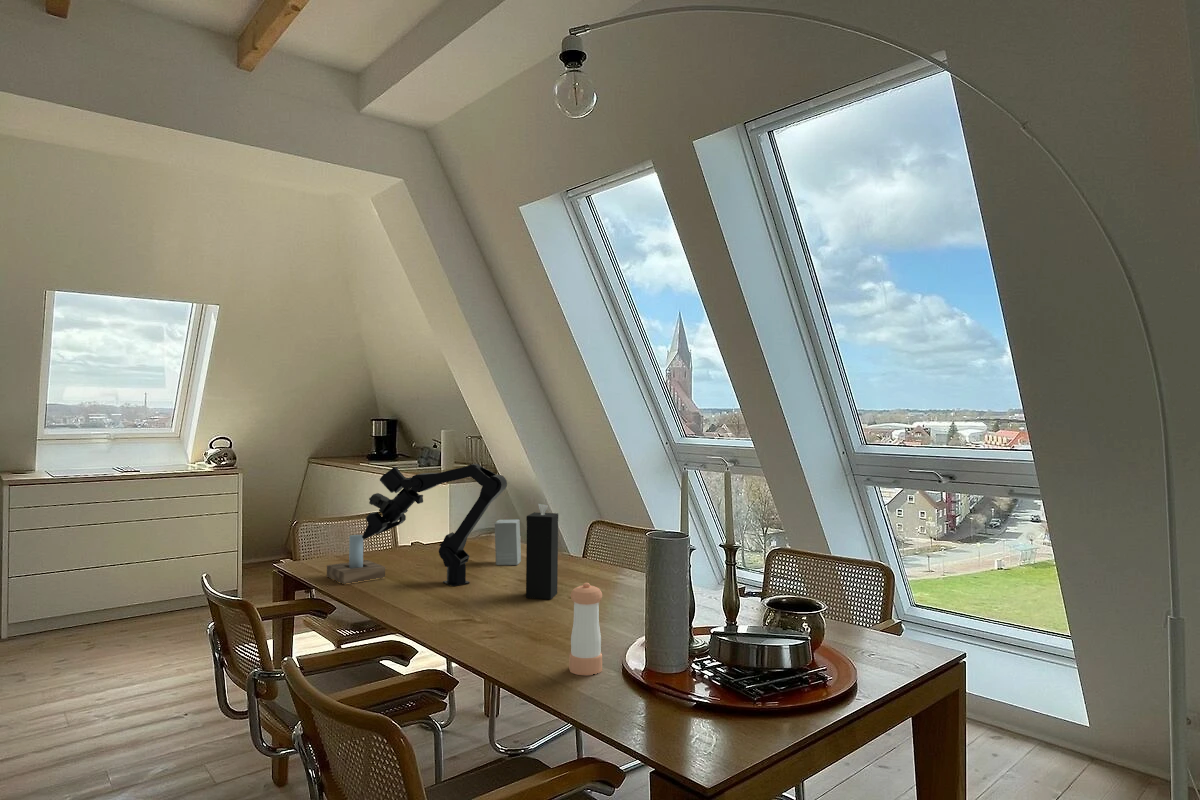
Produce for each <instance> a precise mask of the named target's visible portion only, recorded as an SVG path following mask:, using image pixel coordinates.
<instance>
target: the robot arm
mask: <svg viewBox="0 0 1200 800" xmlns="http://www.w3.org/2000/svg"><path fill="white" fill-rule="evenodd" d="M466 478H472V479H473V480H474V481H475V482H476V483H478V484H479V485H480V486H481V489H480V492H479V495H478V498H477V500H476V501H475V502H474V504H473V505H472V507H471V509H470V510H469V512H468V513H467V514H466V516H465V517H464V519H463V520H462V522H461V523H460V524H459V526H458V527H457V529H456V531H455V532H450V533H448V534H446V535H445V537H444V538H443V540H442V542H441V543H439V544H438V545H439V546H440V547H439V548H438V555H439V557H440V558H441V560H442V561H443V565H444V567H446V580H443V581H442V583H443V584H445V583H446V585H448V586H450V585H451V587H457V586H463V585H469V584H470V583H471V582H470V581H468V580H467V579H466V578H467V577H466V576H467V573H466V572H467V571H466V569H467V566H466V564H467V563H468V562H469V559H470V555H469V554H468V552H466V551H465V547H466V544H467V540H468V538H469V535H470V534H471V533H472V531H473V530H474V528H475V527H476V526H477V524H478V522H479V521H480V519H482V517H483V515H484V514H485V512H486V511H487V510H488V508H489V506H490V505H491V503H492V502H493V501H494V500H496V499H497V498H498V497H499V496H500V495H502V493H503V492H504V491H505V490H506V489H507V486H508V482H507V479H506V477H505V476H504V475H502V474H496V473H495V472H493V471H491V470H489V469H487V468H485V467H483V466H481V465H480V464H479V463H471V464H469V465H467V466H462V467H459V468H458V467H457V468H453V469H449V470H445V471H440V472H423V473H418V474H414V475H412V476H411V477H410V476H409V477H406V476H405V475H404V474H403V473H402V472H401V471H400V469H399V468H398V467H397V466H394V467H392V468H391V469H390V470H389V471H386V472H385V473H383V474H382V476H381V477H380V478H379V482H380V483H381V484H382V485H383V486H384V487H385V488H386V489H387V490H388V492H389V493H395V494H396V495H395V496H394V497H393V498H392V499H390V498H389V497H387V496H385V495H384V494H382V493H378V492H376V493H373V494H372V495H371V496H370V497H369V498H368V500H369V502H368V504H369V505H372V506H374V507H376V508H378V511H376V512H375V511H374V512H371V513H369V514H367V516H365V520H366V522H367V526H366V528H365V530H364V532H363V534H362V535H363V536H362V538H363V540H366V539H368V538H370V537H373V536H374V535H379V534H382V533H383V532H386V531H388V530H390V529H392V528H396V527H398V526H400V525H402V524H403V523H404V522H405V521H406V518H407V517H406V514H407V512H409V509H410V508H411V506H413V504H414V503H416V504H419V505H420V504H423V503H424V495H423V494H419V493H421V492H425V491H428V490H431V489H433V488H435V487H438V486H439V485H441V484H445V483H449V482H454V481H457V480H462V479H466ZM380 513H381V514H380Z"/></svg>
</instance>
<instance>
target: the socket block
mask: <svg viewBox="0 0 1200 800" xmlns="http://www.w3.org/2000/svg"><path fill="white" fill-rule="evenodd" d="M327 577H329V578H331V579H334V580H336V581H338V582H340V583H343V584H346V583H352V582H358V581H364V580H370V579H376V578H383V577H385V578H386V566H384V565H382V564H378V563H376V562H373V561H371V560H368V559H363V567H361V568H354V569H350V568H349V561H348V562H342V563H336V564H335V563H334V564H327V565H326V578H327ZM329 578H328V579H329ZM331 579H330V580H331ZM334 580H333V581H334ZM336 581H335V582H336ZM338 582H337V583H338ZM340 583H339V584H340Z"/></svg>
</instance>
